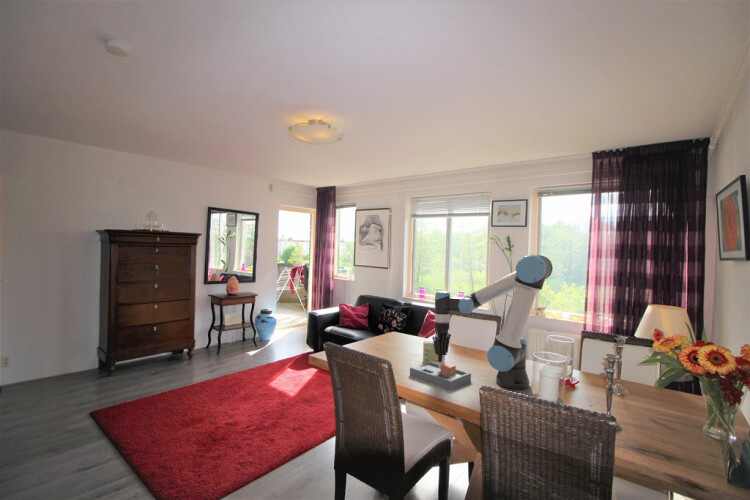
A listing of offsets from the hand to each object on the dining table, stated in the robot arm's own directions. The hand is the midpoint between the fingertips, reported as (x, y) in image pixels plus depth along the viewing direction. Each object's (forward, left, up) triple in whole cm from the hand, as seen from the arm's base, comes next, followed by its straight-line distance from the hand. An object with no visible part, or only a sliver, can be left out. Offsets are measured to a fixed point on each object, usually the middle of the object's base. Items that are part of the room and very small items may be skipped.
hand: (441, 367), depth 182 cm
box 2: (-2, +3, -4) cm, 6 cm away
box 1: (+17, -14, -5) cm, 22 cm away
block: (-4, 0, -2) cm, 5 cm away
